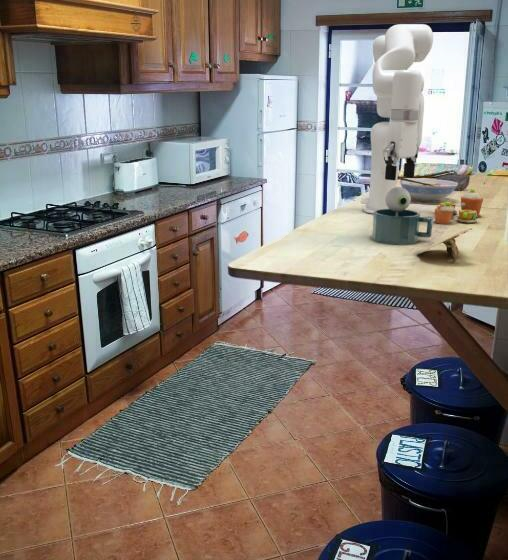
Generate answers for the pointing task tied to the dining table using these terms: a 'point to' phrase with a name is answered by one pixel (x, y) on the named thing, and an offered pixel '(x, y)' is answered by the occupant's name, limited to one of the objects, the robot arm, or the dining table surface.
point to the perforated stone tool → (457, 180)
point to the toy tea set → (468, 211)
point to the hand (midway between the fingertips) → (399, 178)
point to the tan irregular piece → (451, 245)
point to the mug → (399, 227)
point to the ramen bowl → (428, 188)
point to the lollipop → (398, 199)
